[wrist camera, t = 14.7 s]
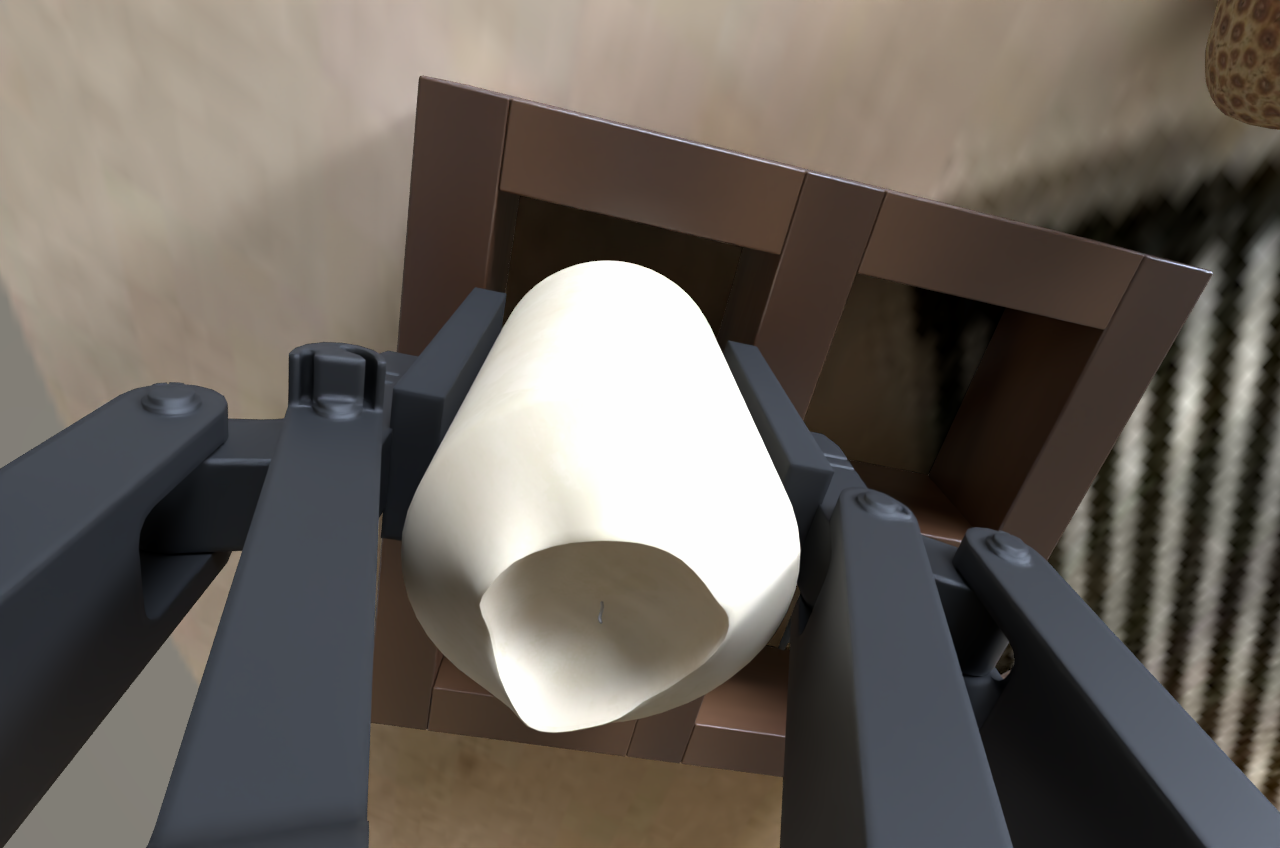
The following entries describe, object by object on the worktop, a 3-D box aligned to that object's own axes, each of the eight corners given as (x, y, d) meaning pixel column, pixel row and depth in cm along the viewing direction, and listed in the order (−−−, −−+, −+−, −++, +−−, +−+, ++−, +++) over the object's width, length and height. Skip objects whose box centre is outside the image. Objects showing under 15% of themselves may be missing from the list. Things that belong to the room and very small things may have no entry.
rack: (405, 629, 26) (366, 723, 22) (462, 83, 19) (418, 74, 14) (870, 698, 29) (912, 794, 25) (1098, 241, 21) (1216, 271, 17)
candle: (628, 497, 19) (641, 858, 10) (457, 386, 17) (279, 690, 8) (760, 347, 17) (929, 611, 8) (584, 208, 15) (540, 338, 6)
